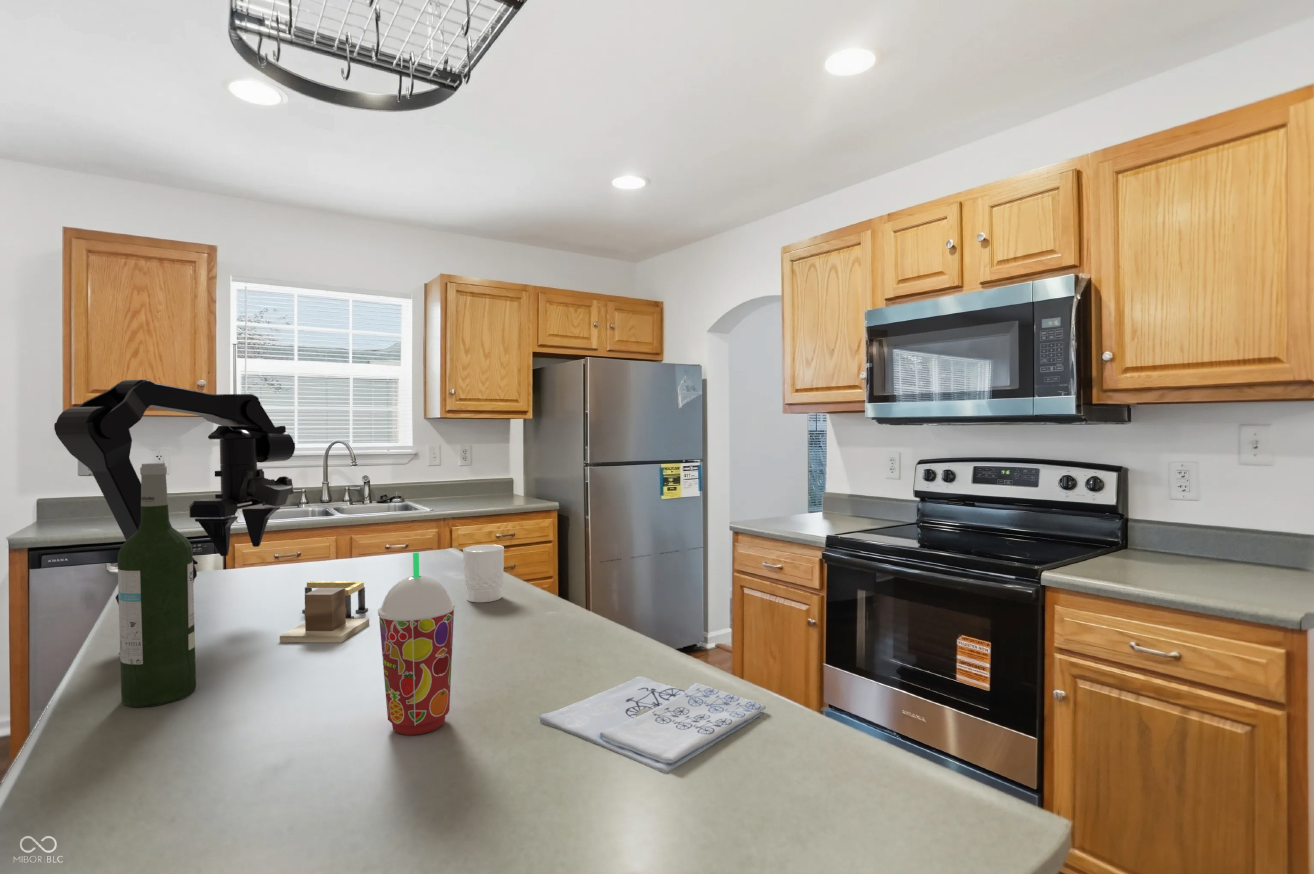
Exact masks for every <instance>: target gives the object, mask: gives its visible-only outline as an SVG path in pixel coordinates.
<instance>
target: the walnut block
mask: <svg viewBox="0 0 1314 874" xmlns="http://www.w3.org/2000/svg"><path fill="white" fill-rule="evenodd" d="M345 589H346V588H314V590H313V589H312V591H311V592H309V593H307V594H305V593H304V609H305V613H304V623H305V631H333V630H335V629H337V628H339V627H340V626H342V625H344V624H345V623H346V612H345Z"/></svg>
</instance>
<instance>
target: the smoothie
mask: <svg viewBox="0 0 1314 874" xmlns="http://www.w3.org/2000/svg"><path fill="white" fill-rule="evenodd" d="M412 557H413V558H412V565H413V566H412V574H413V575H411V576H408V577H406V578H403V579H401V580H400V581H398V582H397V583H395V584H394V585H393V586H392V587H391V588H390V589H389V590H388V592H387V594H386V595H385V597H384V599H383V601H382V603H381V604H382V605H381V607H379V608H378V610H377V616H379V633H380V642H381V653H382V654H381V657H382V666H383V679H384V681H383V682H384V689H385V701H386V702H385V704H386V715H387V721H388V722H389V723H391V725H392V730H393V731H394V732H395V733H398V734H400V735H406V736H417V735H418V736H419V735H423V734H427V733H431V732H433V731H435V730H437V729H439V728H440V727H442V726H443V725H444V723H445V721H446V716H447V715H448V714H449V712H450V706H451V705H450V704H451V685H452V684H451V683H452V682H451V681H452V662H453V660H452V659H453V637H454V618H455V617H454V616H455V611H454V610H455V607H456V604H455V603H454V601H452V599H451V598H450V595H449V593H448V591H447V589H446V588H445V586H443V584H441V582H439V581H437V580H436V579H434V578H432V577H429V576H427V575H425V576H424V575H420V552H416V551H415V552H412Z"/></svg>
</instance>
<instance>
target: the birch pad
mask: <svg viewBox="0 0 1314 874" xmlns="http://www.w3.org/2000/svg"><path fill="white" fill-rule="evenodd" d="M369 625H370V618H354V619H346V623H345V624H344V625H342V626H340V627H339V628H337V629H335V630H333V631H305V622H303V623H301V624H299V625H298V626H295V627H294V628H292V629H291V630H288V631H286V632H284V633H282V634H281V635H279V643H328V644H329V643H340V644H341V643H343V642H345V641H346V640H347V639H349V638H351V637H352V636H354V635H355V634H357V633H359V632H360V631H362V630H363V629H364V628H366V627H367V626H369Z"/></svg>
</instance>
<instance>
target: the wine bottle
mask: <svg viewBox="0 0 1314 874" xmlns="http://www.w3.org/2000/svg"><path fill="white" fill-rule="evenodd" d="M139 472H140V473H139V474H140V476H141V477H140V479H141V480H140V482H141V523H140V526H139V529H138V531H137V532H135V533H134V534H133V535H132V536H131V537H130V538H129V539H128V540H127V541H126V540H125V541H124V542H123V544H122V545H121V546H120V547H119V550H118V552H117V559H116V560H117V584H118V585H117V589H118V591H117V592H118V593H117V594H118V595H119V605H118V617H119V618H118V621H119V623H118V624H119V627H118V628H119V651H120V652H119V656H120V657H119V659H120V661H119V662H120V689H121V691H120V693H121V694H120V695H121V702H122V703H123V704H124V705H125V706H127V707H132V708H147V707H155V706H162V705H165V704H169V703H174V702H177V701H179V700H183V699H184V698H186V697H188V696H190V695H191V694H192V693H193V692H194V691H195V690H196V686H197V675H196V673H197V672H196V671H197V669H196V635H195V634H196V632H195V600H194V599H195V597H194V596H195V595H194V583H193V558H194V557H193V556H194V555H193V553H194V552H193V546H192V545H193V544H191V542H190V540H189V539H188V538H187V537H186V536H185V535H184V534H183V533H181V532H180V531H178V530H176V529H175V528H174V527H173V526H172V524H171V521H170V512H169V511H170V510H169V500H168V486H167V474H168V470H167V466H166V462H149V463H148V462H147V463H141V467H139Z"/></svg>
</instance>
